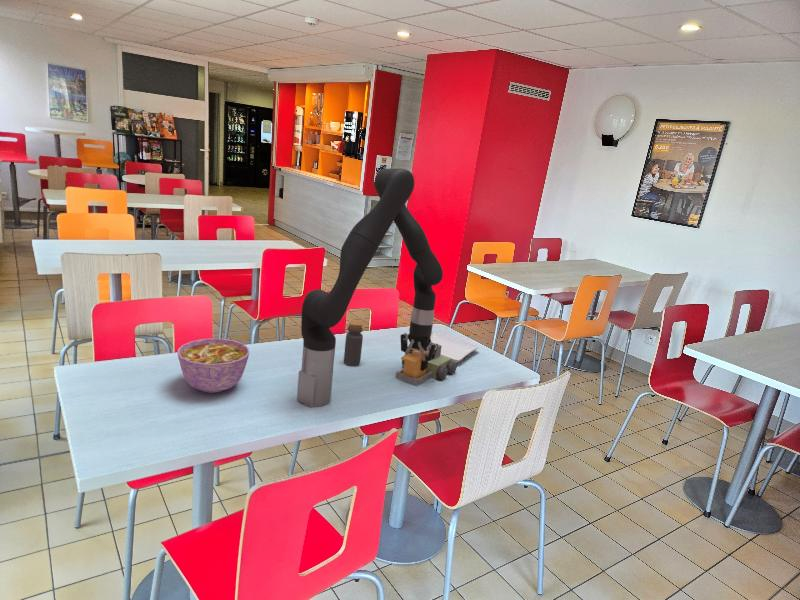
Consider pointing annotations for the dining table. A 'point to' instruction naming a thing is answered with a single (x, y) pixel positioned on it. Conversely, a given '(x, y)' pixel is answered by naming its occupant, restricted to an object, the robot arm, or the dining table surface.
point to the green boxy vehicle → (431, 369)
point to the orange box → (413, 364)
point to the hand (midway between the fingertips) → (415, 367)
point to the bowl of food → (213, 363)
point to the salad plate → (452, 346)
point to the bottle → (353, 344)
